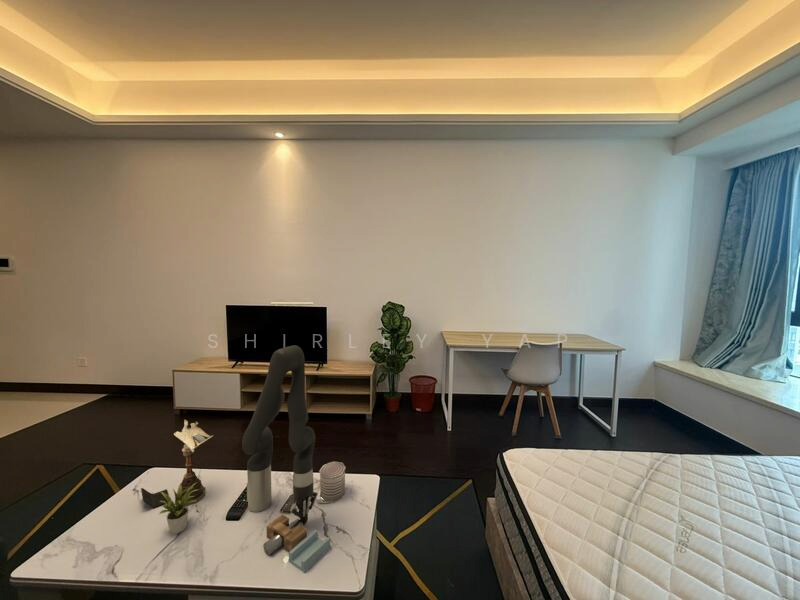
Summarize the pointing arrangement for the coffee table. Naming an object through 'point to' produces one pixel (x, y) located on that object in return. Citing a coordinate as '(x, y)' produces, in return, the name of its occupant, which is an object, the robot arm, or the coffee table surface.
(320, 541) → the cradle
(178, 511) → the house plant
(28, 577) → the coffee table surface
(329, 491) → the can
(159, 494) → the dark v-shaped block
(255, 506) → the robot arm
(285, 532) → the brown h-shaped block
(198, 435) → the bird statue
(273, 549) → the axle
